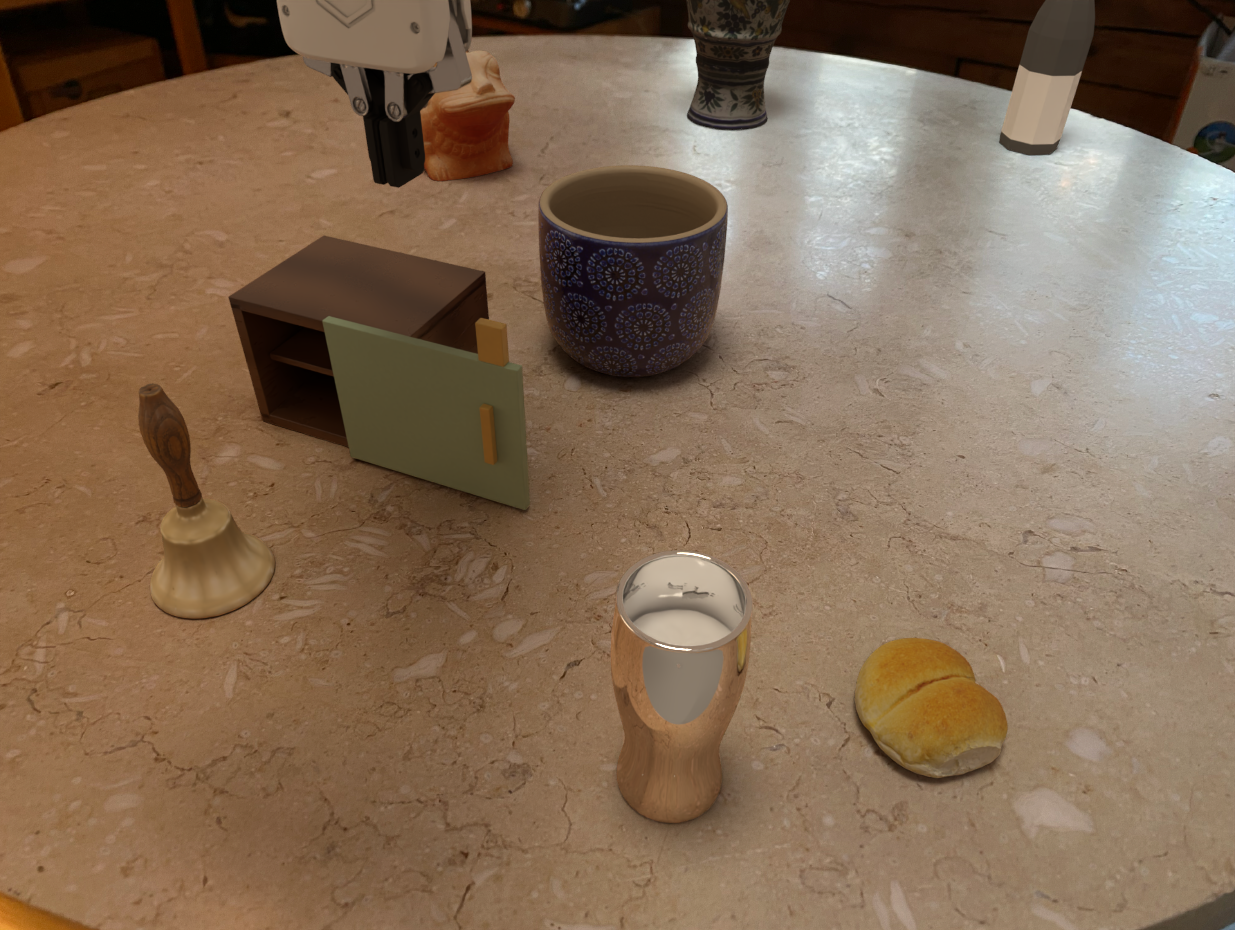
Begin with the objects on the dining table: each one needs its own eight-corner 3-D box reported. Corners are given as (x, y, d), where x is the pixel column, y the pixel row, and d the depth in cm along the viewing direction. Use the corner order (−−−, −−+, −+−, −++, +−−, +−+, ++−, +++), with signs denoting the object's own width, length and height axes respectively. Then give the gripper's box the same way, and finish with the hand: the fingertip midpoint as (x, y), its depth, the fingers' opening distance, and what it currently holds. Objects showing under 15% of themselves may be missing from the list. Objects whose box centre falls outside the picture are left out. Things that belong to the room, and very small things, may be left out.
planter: (692, 411, 82) (705, 255, 73) (517, 377, 86) (507, 225, 77) (730, 320, 95) (746, 177, 85) (575, 294, 98) (574, 154, 89)
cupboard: (422, 470, 75) (403, 341, 68) (262, 421, 80) (227, 296, 73) (495, 392, 84) (485, 271, 77) (346, 353, 89) (323, 235, 81)
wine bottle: (998, 151, 132) (1066, -94, 113) (997, 132, 138) (1062, -103, 119) (1059, 159, 130) (1138, -89, 111) (1055, 139, 136) (1130, -99, 118)
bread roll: (939, 647, 62) (953, 606, 59) (1021, 761, 55) (1042, 720, 53) (825, 675, 60) (836, 633, 57) (897, 796, 53) (912, 755, 51)
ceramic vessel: (442, 198, 117) (428, 73, 107) (373, 132, 134) (356, 20, 125) (542, 178, 122) (537, 57, 113) (463, 117, 140) (453, 8, 130)
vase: (672, 96, 149) (683, -126, 130) (781, 101, 148) (808, -122, 129) (666, 132, 136) (677, -108, 117) (785, 138, 135) (816, -103, 116)
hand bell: (293, 539, 69) (241, 354, 59) (247, 624, 63) (181, 434, 53) (184, 530, 70) (115, 346, 59) (128, 614, 63) (40, 423, 53)
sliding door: (522, 515, 71) (510, 336, 61) (345, 461, 76) (308, 287, 66) (530, 504, 72) (520, 326, 62) (356, 451, 77) (320, 278, 67)
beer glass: (603, 729, 57) (604, 550, 47) (716, 720, 57) (740, 541, 48) (615, 837, 51) (619, 660, 42) (740, 825, 52) (772, 648, 42)
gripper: (180, -186, 46) (261, 179, 57) (443, -171, 41) (475, 222, 53) (280, -193, 51) (336, 141, 63) (522, -181, 47) (536, 177, 58)
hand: (399, 177), depth 58 cm, fingers closed
